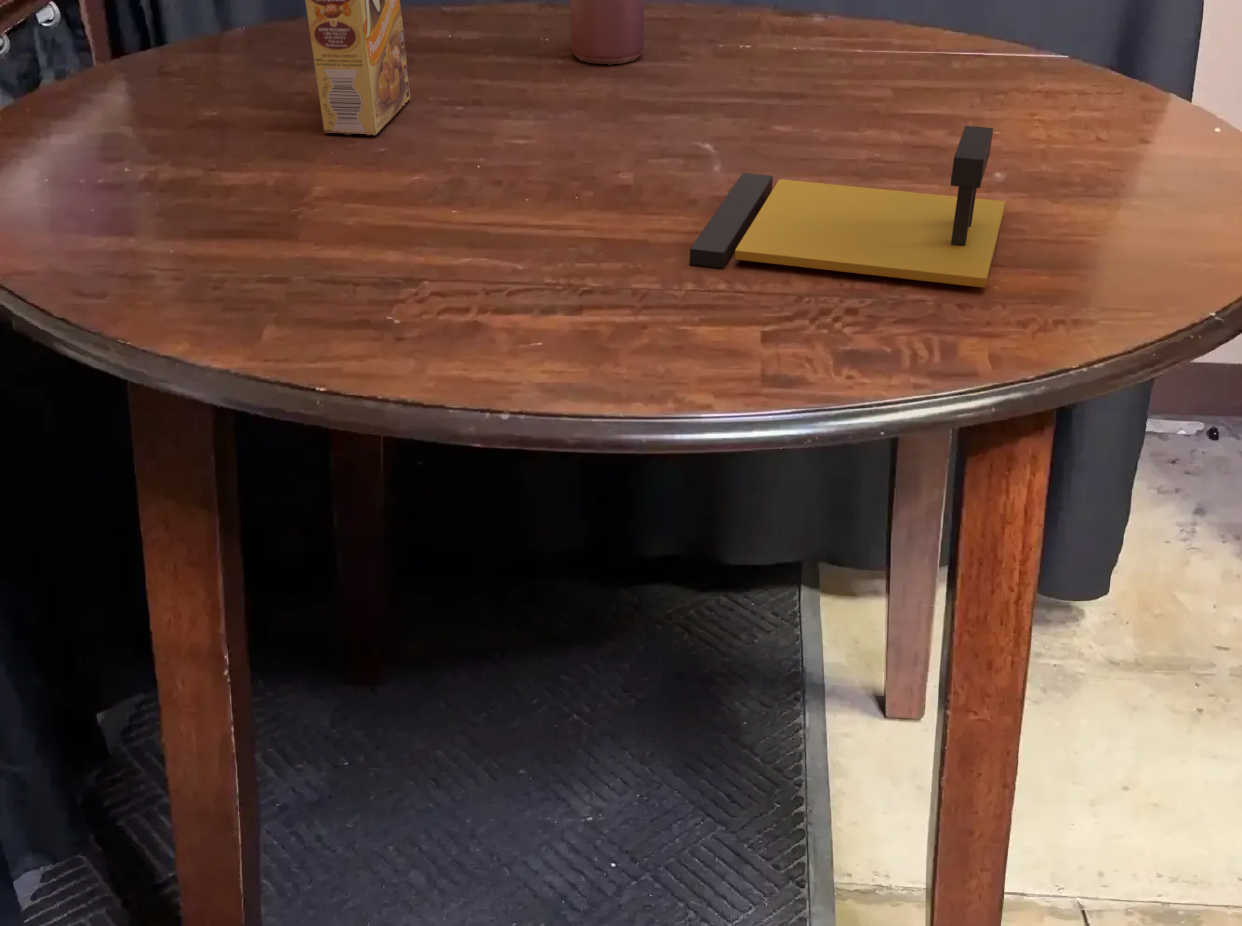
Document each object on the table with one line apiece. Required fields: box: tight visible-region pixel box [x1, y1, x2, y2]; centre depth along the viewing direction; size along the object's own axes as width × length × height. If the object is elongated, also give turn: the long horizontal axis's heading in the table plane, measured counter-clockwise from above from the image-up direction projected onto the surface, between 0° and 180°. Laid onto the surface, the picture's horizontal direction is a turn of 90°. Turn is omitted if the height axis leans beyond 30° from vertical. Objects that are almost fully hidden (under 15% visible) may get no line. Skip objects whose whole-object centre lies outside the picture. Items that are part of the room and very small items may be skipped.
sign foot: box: [689, 172, 774, 269], centre depth 85 cm, size 2×13×1 cm, turn 163°
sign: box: [734, 125, 1006, 289], centre depth 81 cm, size 14×12×6 cm
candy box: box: [304, 0, 411, 137], centre depth 98 cm, size 9×4×15 cm, turn 171°
